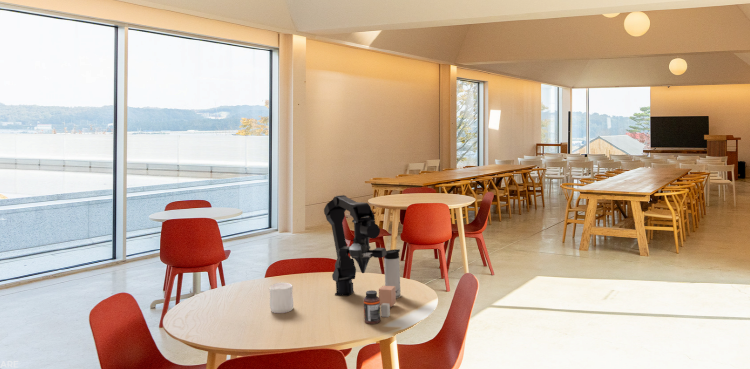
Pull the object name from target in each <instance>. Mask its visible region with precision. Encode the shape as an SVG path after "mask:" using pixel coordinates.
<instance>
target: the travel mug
mask: <svg viewBox="0 0 750 369" xmlns="http://www.w3.org/2000/svg"><path fill="white" fill-rule="evenodd" d="M400 249H401V248H400ZM400 249H399V248H397V249H389V250H386V253H387V255H385V256H384V257H383V259H384V262H383V263H384V284H385V285H384V286H395V291H396V299H398V298H401V273H400V272H401V270H400V269H401V268H400V266H401V265H400V251H401V250H400Z"/></svg>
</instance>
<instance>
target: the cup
mask: <svg viewBox="0 0 750 369" xmlns="http://www.w3.org/2000/svg"><path fill="white" fill-rule="evenodd" d="M268 290H269V309H270V312H272V313H273V314H284V313H285V314H286V313H289V312H291V311H292V310H293V309H294V296H293V285H292V284H291V283H289V282H276V283H273V284H271V285H270V286H269V288H268Z"/></svg>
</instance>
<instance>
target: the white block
mask: <svg viewBox="0 0 750 369" xmlns="http://www.w3.org/2000/svg"><path fill="white" fill-rule="evenodd" d="M390 309H391V307H390V304H389V303H383V304H382V305H381V306H380V318H389V317H390V315H391V310H390Z"/></svg>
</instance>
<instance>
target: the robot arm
mask: <svg viewBox="0 0 750 369" xmlns="http://www.w3.org/2000/svg"><path fill="white" fill-rule="evenodd" d="M346 211H348V212H349V215H350V217H352V222H351V223H353V227H354V230H353V231H354V232H353V233H354V238H352V239H353V242H352V244H351V245H350V246H349V245H348V246H347V241H346V240H347V239H346V235H345V230H344V224H343V222H344V219H345V216H346V214H345V212H346ZM323 212H324V215H325V219H326V221H327V222H328V223H329V224H330V226H331V230H332V231H331V232H332V236H333V241H334V247H335V252H336V260H335V263H334V270H333V273H332V274H331V277H332V280H333V281H334V282H335V293H334V295H335V296H345V297H349V296H350V295H351V294H354V292H355V291H354V282H353V280H355V279H356V274H357V268H356V265H355V261H356V263H357V265H358V267H359V269H360V272H361V273H362V274H364V273H366V270H367V267H368V264H369V261H370V260H371V258H377V259H378V258H380V259H382V258H384V256H385V255H387V253H386V251H387V249H386V248H385V247H376V248H374V249H371V246H370V239H376V238H378V237H379V235H380V233H381V228H380V226H379V224H376V218H375V214H374V212H373V210H372V207H371V205H370V204H369V203H368V202H364V201H363V202H358V201H355V200H354V199H352V198H349V197H347V195H344V194H342V195H335V196H334V197H333V198H332V199H331V200H330V201H328V202H327V203H326V205H325V206H324V209H323Z"/></svg>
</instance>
